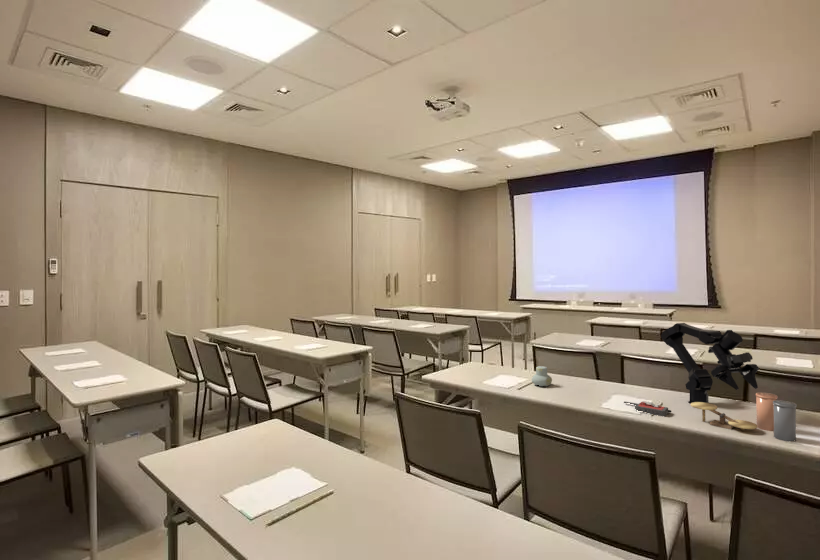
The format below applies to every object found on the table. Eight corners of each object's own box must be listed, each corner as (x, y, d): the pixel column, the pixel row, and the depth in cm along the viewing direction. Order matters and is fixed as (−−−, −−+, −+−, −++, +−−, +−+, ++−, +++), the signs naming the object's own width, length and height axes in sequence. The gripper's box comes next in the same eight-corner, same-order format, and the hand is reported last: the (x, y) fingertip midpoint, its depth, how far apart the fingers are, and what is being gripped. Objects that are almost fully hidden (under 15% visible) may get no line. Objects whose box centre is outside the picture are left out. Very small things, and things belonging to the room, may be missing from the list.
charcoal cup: (770, 438, 162) (770, 402, 162) (775, 433, 167) (775, 399, 166) (794, 443, 157) (794, 406, 157) (798, 438, 161) (798, 403, 161)
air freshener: (543, 388, 237) (543, 370, 237) (529, 386, 243) (529, 367, 243) (553, 384, 244) (553, 366, 244) (540, 382, 250) (539, 364, 250)
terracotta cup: (753, 427, 173) (753, 394, 173) (758, 423, 177) (758, 391, 177) (775, 432, 168) (775, 398, 167) (779, 428, 172) (779, 394, 172)
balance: (687, 421, 182) (687, 405, 182) (695, 416, 187) (695, 400, 187) (753, 436, 165) (753, 418, 165) (760, 430, 170) (760, 412, 170)
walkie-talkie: (673, 413, 193) (624, 404, 207) (672, 403, 193) (624, 395, 207) (667, 418, 187) (617, 409, 201) (667, 408, 187) (617, 399, 201)
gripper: (718, 346, 183) (741, 379, 173) (756, 345, 187) (781, 377, 176) (701, 360, 191) (722, 393, 181) (738, 359, 195) (761, 391, 184)
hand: (747, 388), depth 180 cm, fingers open, 9 cm apart
